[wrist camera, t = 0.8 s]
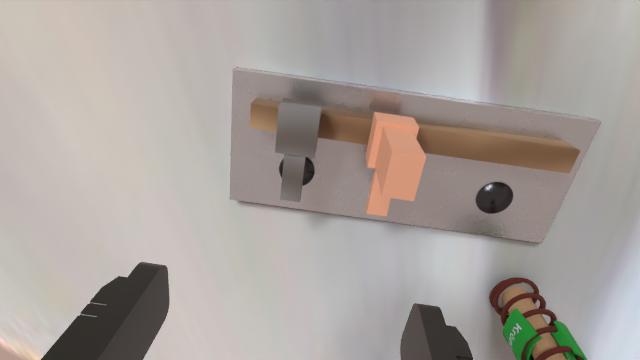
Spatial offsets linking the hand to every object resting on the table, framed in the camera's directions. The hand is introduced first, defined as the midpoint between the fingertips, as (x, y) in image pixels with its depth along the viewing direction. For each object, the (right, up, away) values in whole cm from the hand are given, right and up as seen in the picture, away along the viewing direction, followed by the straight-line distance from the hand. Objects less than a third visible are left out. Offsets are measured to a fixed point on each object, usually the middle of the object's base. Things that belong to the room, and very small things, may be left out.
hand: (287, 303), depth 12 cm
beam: (+8, +6, +20) cm, 22 cm away
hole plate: (+8, +6, +21) cm, 23 cm away
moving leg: (+6, +6, +19) cm, 21 cm away
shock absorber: (+21, -8, +27) cm, 35 cm away
